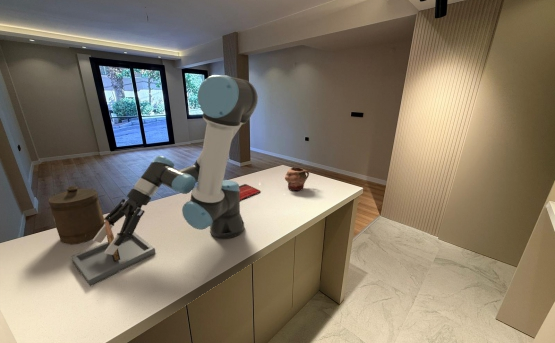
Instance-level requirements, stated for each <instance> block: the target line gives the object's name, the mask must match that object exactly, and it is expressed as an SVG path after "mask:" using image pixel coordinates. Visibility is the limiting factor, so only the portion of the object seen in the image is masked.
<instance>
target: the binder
mask: <svg viewBox="0 0 555 343" xmlns="http://www.w3.org/2000/svg"><path fill="white" fill-rule="evenodd" d="M239 190H240V191H239V194H240V202H241V201H243V200H245V199H248V198H250V197H252V196H254V194H255V195H257V193H258V194H260V193H261V190H259V189H257V188H256V187H253V186H251V185H249V184H246V183H244V184H240V185H239ZM259 192H260V193H259ZM249 196H250V197H249ZM247 197H248V198H247Z"/></svg>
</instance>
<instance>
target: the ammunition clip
mask: <svg viewBox="0 0 555 343" xmlns="http://www.w3.org/2000/svg"><path fill="white" fill-rule="evenodd" d="M104 222H105V226H106V233H107V235H106V239H107V242H108V243H109V245H110V243H111V242H112V241H113V239H114V238H115V236H114V233H113V231H112V229H111V228H110V225H109V222H108V221H107V220H104ZM112 257H113V261H114V262H115V261H118V260H120V256H119V252H118V248H117V250H116V251H115V253H114V254H113V255H112Z"/></svg>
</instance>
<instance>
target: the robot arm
mask: <svg viewBox="0 0 555 343" xmlns="http://www.w3.org/2000/svg"><path fill="white" fill-rule="evenodd" d="M197 90H198V91H197V102H198V105H199V109H200V110H201V111H202V118H203V121H205V123H206V125H205V126H206V128H205V133H204V140H203V144H202V145H203V147H202V150H201V152H200V153H199V156H198V157H197V158H196V160H195V161H194V163H193V164H192V165H189V166H186V167H183V168H180V169H177V168H175V163H174V162H173V161H172V160H170V159H169V158H167V157H166V156H163V155H157V156H156V157H155V158H154V159H153V161H151V162H150V164H149V165H148V167H147V168H146V170H145V171H144V173H143V174H142V175H141V176H140V178H138V180H137V181H136V182H135V184H134V185H133V188H131V189H130V191H129V192H128V193H127V195H126V198H128V199H125V198H122V199H121V200H120V202H119V203H118V204H117V205H116V206H115V207H114V208H113V209H112V210H111V211H110V212H109V213H108V214H107V215H106V216H105V217H104V221H105V220H107V221H108V222H109V225H110V228H111V230H112V229H113V227H114V226H115V223H116V222H118V221H120V219H122V218H123V217H125V218H124V220H123V223H122V227H121V229H120V231H119V232H118V233H117V234H116V235H115V236H114V239H113V241H112V242H111V243H110V245H109V246H108V248H107V249H106V250H105V252H104V253H106V254H110V255H113V254H114V253H115V251H116V250H117V248H118V247H119V246H120V245H121V243H122V242H123V240H124V239H125V238H126V237H129V238H130V237H131V236H132V234H133V232H135V230H136V228H137V226H138V224H139V222H140V221H141V218H142V217H143V216H144V214H145V213H146V212H145V210H143V209H142V207H143V206H147V205H148V204H149V202H150V201H151V199H152V197H154V195H155V193H156V192H158V190H159V188H160V187H161V185H164V186H166V187H167V188H170V189H172V190H173V191H175V192H177V193H178V192H179V193H181V194H183V195H187V194H189V193H190V192H191V194H190V199H189V200H188V201H186V202H185V203H184V204H183V205H182V209H181V211H182V217H183V219H184V221H186V223H187V224H188V225H190V227H192V228H193V229H195V230H202V231H203V230H206V229H207V228H208V227H209V229H210V230H209V232H210V234H211V235H212V236H213V237H214V238H217V239H221V240H222V239H223V240H224V239H225V240H226V239H227V240H228V239H232V238H236V237H238V236H240V235H241V234H242V233H243V232H244V230H245V222H244V219H243V217H242V214H241V211H240V210H241V207H240V205H241V204H240V203H241V201H240V194H239V191H240V190H239V186H240V184H239V183H238V182H236V181H234V180H230V179H224V178H225V173H226V168H227V165H228V159H229V154H230V150H231V145H232V141H233V139H234V137H235V136H236V134H237V133H238V131H239V130H240V128H241V126H242V125H245V124H246V123H248V121H249V120H250V118H251V117H252V115H253V114H254V112H255V110H256V108H257V106H258V100H259V99H258V98H259V97H258V93H257V89H256V88H255V86H254V85H253V84H252V83H251V82H250V81H249V80H246V79H242V78H237V77H233V76H229V75H224V74H220V75H219V74H214V75H210V76H208V77H207V78H205V79H203V81H202V82H201V84H200V85H199V88H198V89H197ZM196 184H197V185H196ZM195 185H196V186H195ZM105 238H107V233H106V226H105V224H104V226H103V227H102V228H101V230H100V231H99V232H98V234H97V235H96V236H95V237H94V239H92V241H93V242H95V243H100V244H102V242H103V240H104V239H105Z"/></svg>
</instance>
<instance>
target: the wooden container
mask: <svg viewBox="0 0 555 343" xmlns="http://www.w3.org/2000/svg"><path fill="white" fill-rule="evenodd" d="M48 203H49V206H50V210H51V214H52V218H53V221H54V225H55V228H56V231H57V235H58V237H59V239H60V242H61V243H62V244H64V245H78V244H82V243H86V242H88V241H89V242H90V241H91V240H92V241H93V239H94V237H95V236H96V235H97V234H98V232H99V231H100V230H101V228H102V227H103V226H104V224H105V220H104V218H105V217H104V214H103V211H102V207H101V204H100V200H99V196H98V192H97V190H96V189H93V188H80V189H79V187H78V186H76V185H70V186H69V185H68V187H66V191H64V192H60V193H58V194H55V195H53V196H51V197H50V198H49V199H48Z"/></svg>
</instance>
